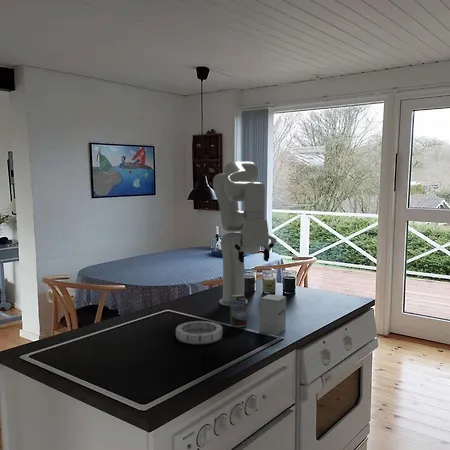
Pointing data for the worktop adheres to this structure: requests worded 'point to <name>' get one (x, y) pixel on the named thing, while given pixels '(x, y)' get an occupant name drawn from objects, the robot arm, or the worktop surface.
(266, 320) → the supplement box
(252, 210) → the robot arm
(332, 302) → the worktop surface
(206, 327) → the grey segmented ring
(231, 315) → the beverage can
